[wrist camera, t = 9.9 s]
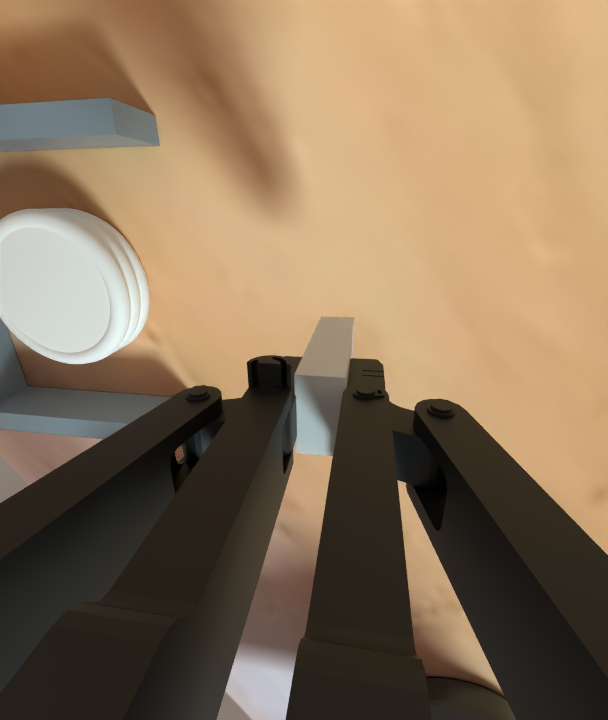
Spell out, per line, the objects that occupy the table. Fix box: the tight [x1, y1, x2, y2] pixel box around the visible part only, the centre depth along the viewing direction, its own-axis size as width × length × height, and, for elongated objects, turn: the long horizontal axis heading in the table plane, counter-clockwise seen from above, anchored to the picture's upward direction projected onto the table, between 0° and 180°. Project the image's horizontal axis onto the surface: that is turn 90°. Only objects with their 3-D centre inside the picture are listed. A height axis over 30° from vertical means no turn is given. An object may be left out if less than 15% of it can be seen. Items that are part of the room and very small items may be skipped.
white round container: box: [0, 208, 150, 364], centre depth 25 cm, size 10×10×4 cm
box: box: [0, 98, 172, 439], centre depth 24 cm, size 20×16×4 cm
